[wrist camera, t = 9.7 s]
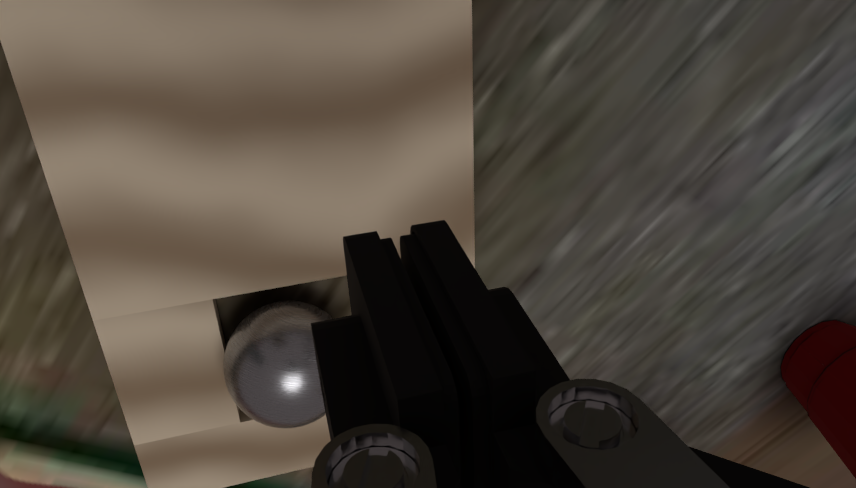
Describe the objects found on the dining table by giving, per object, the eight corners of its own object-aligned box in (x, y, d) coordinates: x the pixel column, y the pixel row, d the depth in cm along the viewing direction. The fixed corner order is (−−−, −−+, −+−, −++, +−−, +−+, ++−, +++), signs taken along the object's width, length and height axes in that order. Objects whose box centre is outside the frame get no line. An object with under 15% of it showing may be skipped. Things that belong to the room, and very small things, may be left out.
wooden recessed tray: (-46, -142, 24) (-60, -141, 23) (457, -165, 28) (469, -166, 27) (155, 482, 39) (153, 503, 38) (468, 411, 43) (476, 428, 42)
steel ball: (316, 390, 39) (339, 286, 37) (355, 451, 34) (383, 334, 32) (203, 389, 36) (223, 277, 35) (227, 456, 31) (251, 328, 29)
